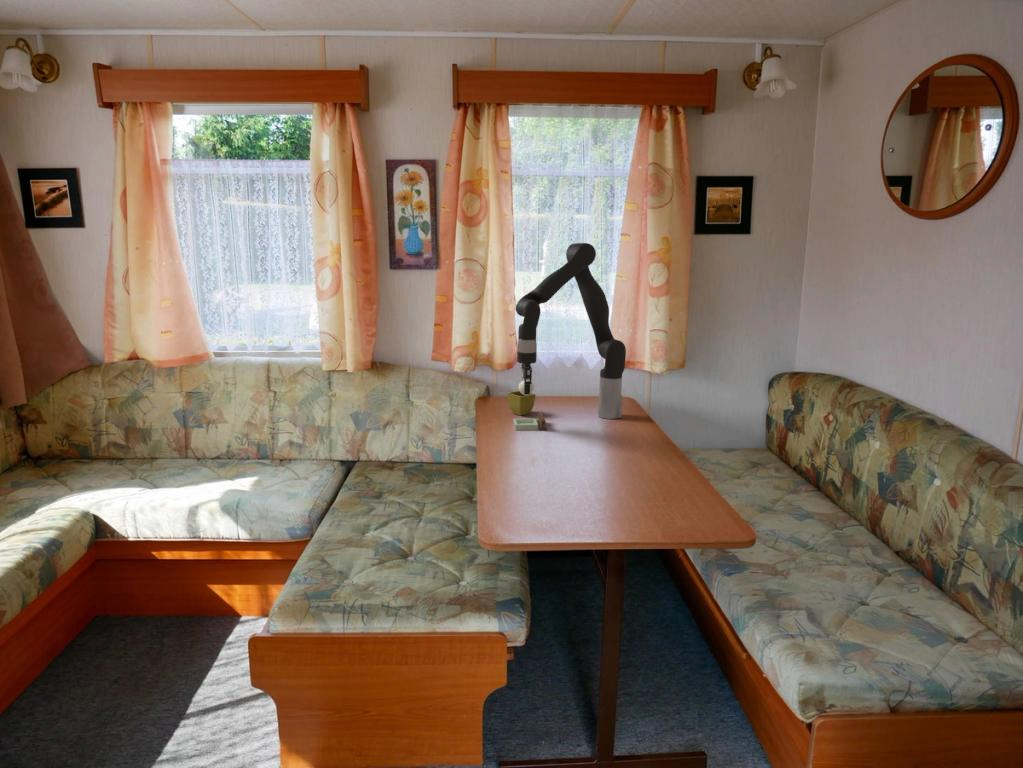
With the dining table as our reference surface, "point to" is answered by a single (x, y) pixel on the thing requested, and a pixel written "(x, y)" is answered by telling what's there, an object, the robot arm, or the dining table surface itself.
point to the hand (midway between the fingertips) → (526, 392)
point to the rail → (541, 422)
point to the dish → (525, 424)
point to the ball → (521, 388)
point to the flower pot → (521, 402)
